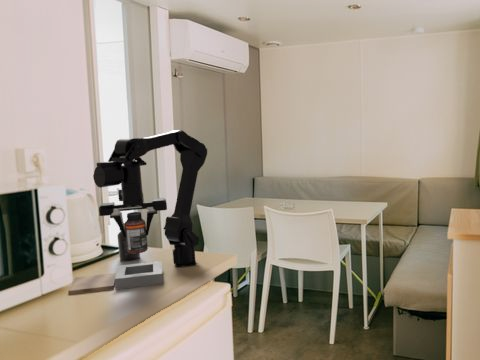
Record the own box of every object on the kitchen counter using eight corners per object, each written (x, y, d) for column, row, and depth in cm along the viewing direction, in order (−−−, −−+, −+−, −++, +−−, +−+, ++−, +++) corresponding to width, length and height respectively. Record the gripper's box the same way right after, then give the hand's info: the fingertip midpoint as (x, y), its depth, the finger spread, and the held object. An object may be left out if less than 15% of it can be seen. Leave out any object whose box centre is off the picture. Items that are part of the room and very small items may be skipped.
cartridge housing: (162, 270, 146) (161, 261, 146) (163, 283, 133) (162, 273, 133) (118, 275, 144) (117, 265, 143) (115, 289, 131) (114, 278, 131)
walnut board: (116, 276, 143) (116, 272, 143) (113, 289, 132) (113, 285, 131) (75, 280, 141) (75, 277, 141) (68, 294, 129) (68, 290, 129)
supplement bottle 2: (143, 255, 164) (140, 221, 163) (133, 261, 158) (130, 226, 157) (126, 255, 167) (123, 221, 165) (115, 260, 160) (112, 226, 159)
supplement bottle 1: (131, 248, 141) (128, 211, 140) (150, 248, 140) (147, 210, 139) (123, 254, 135) (120, 215, 134) (144, 254, 134) (140, 214, 133)
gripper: (163, 177, 145) (167, 227, 147) (100, 182, 142) (105, 233, 143) (164, 181, 134) (169, 235, 136) (96, 186, 131) (101, 242, 132)
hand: (136, 236), depth 137 cm, fingers closed on supplement bottle 1, 6 cm apart
